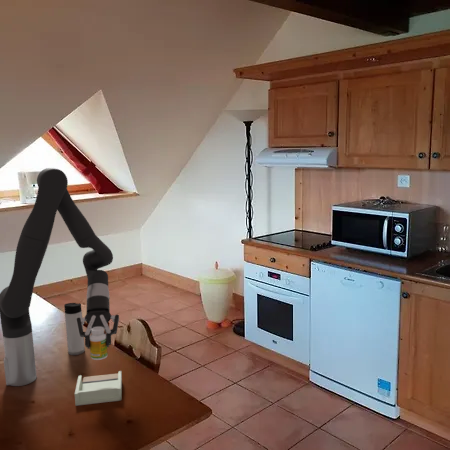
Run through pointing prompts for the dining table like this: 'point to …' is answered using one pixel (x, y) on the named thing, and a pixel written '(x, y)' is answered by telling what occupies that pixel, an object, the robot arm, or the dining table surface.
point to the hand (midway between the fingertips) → (98, 346)
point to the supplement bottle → (98, 343)
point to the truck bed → (98, 389)
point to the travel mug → (73, 328)
